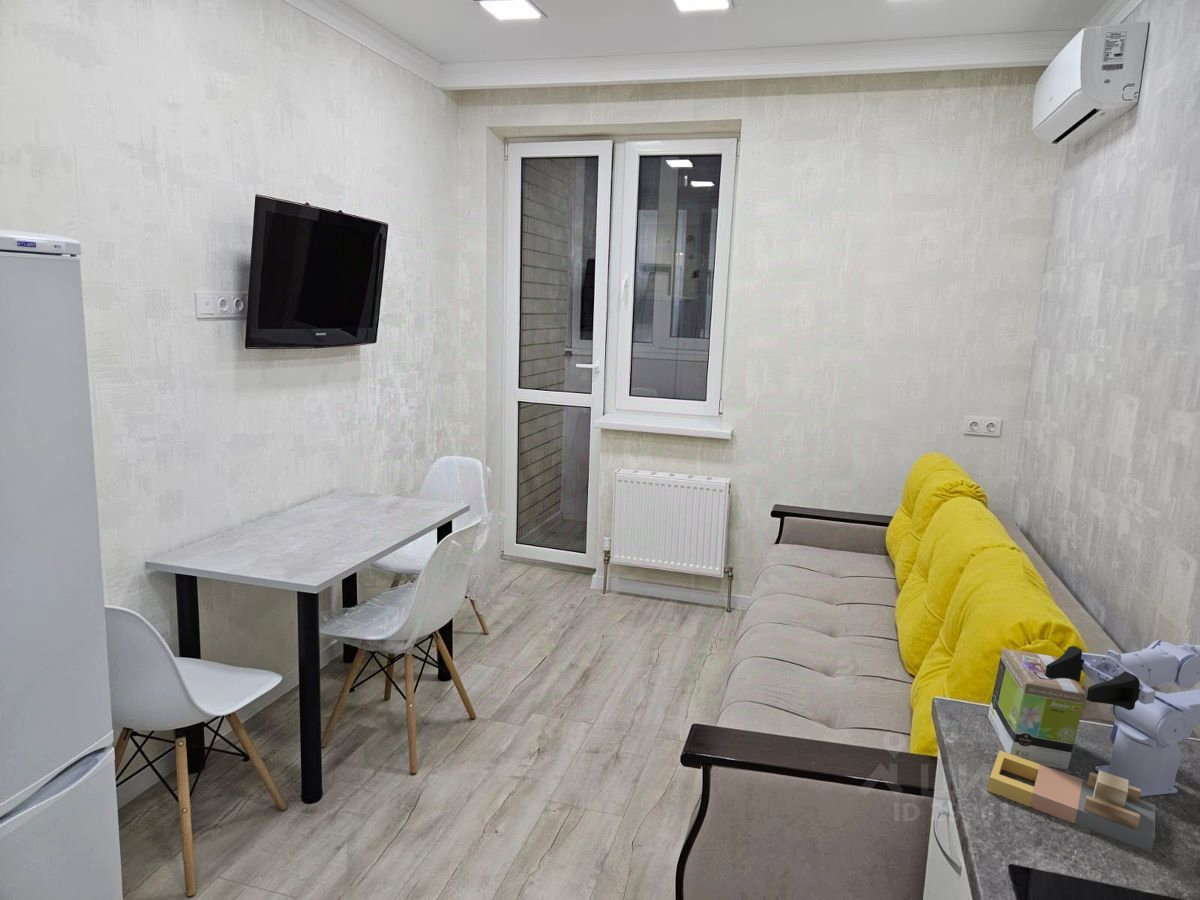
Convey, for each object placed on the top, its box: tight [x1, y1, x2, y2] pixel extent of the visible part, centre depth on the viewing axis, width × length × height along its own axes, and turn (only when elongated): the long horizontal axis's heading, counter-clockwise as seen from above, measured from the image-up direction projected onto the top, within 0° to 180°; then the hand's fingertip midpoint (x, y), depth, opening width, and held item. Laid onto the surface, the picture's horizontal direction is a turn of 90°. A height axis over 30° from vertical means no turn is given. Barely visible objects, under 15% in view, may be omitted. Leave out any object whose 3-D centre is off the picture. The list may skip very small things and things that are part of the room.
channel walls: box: [1084, 771, 1141, 829], centre depth 127 cm, size 7×9×2 cm
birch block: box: [1093, 770, 1129, 808], centre depth 127 cm, size 4×4×4 cm
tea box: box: [987, 648, 1087, 770], centre depth 147 cm, size 15×10×15 cm, turn 168°
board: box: [986, 750, 1156, 853], centre depth 130 cm, size 22×10×2 cm, turn 56°
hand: (1067, 682), depth 128 cm, fingers open, 7 cm apart
